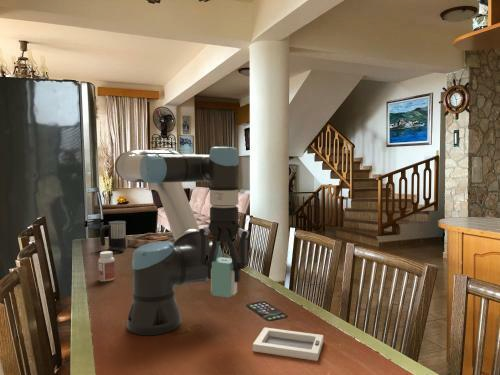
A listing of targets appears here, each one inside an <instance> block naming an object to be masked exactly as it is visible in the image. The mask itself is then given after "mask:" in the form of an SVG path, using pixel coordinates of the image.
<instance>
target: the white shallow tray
mask: <svg viewBox="0 0 500 375" xmlns="http://www.w3.org/2000/svg"><path fill="white" fill-rule="evenodd" d="M323 344H324V335H323V334H316V333H309V332H301V331H295V330H294V331H293V330H288V329H287V330H286V329H279V328H273V327H271V328H270V327H266V326H265V327H263V329H262V330H261V332H260V333H259V334H258V336H257V337H256V339H255V340H254V342H253V343H252V351H253V352H257V353H262V354H263V353H265V354H269V355H271V354H272V355H275V356H276V355H277V356H284V357H289V358H297V359H304V360H309V361H316V362H317V361H318V360H319V357H320V355H321V351H322V348H323Z"/></svg>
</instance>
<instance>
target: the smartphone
mask: <svg viewBox="0 0 500 375" xmlns="http://www.w3.org/2000/svg"><path fill="white" fill-rule="evenodd" d="M245 306H246V307H247V308H248V309H249V310H251V311H253V312H254V313H255V314H257V315H258V316H259V317H260V318H262V319H263V320H265V321H267V322H273V321H277V320H282V319H287V318H288V317H289V315H287V314H286V313H284V312H283V311H282V310H280V309H279V308H277V307H275V306H273V305H272V304H270V303H268V302H267V301H265V300H261V301H256V302H251V303H247V304H246V305H245Z"/></svg>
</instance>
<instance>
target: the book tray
mask: <svg viewBox="0 0 500 375" xmlns="http://www.w3.org/2000/svg"><path fill="white" fill-rule="evenodd" d="M161 234H162V235H165V236H168V237H171V238H173V239H170V240H167V241H170V242H172V243H174V241H175V239H174V236H173V234H171V233H156V232H155V233H154V232H147V233H144V234H141V235H138V236H137V235H136V236H135V237H132V238H128V239H127V247H129V248H130V247H131V248H138V247H140V246H142V245H145V244H148V243H153V242H162V241H148V240H144V237H147V236H156V235H161Z"/></svg>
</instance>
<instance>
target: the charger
mask: <svg viewBox="0 0 500 375" xmlns="http://www.w3.org/2000/svg"><path fill="white" fill-rule="evenodd" d="M233 269H234V267H233V263H232V259H231V257H223V256H222V257H219V258H217V259H216V260H214V261H212V293H211V296H213V297H214V296H215V297H223V298H231V297H232V296H233V295H231V270H233Z"/></svg>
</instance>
